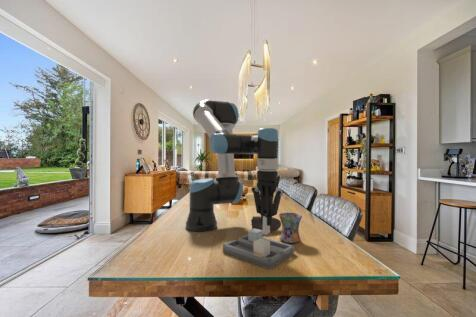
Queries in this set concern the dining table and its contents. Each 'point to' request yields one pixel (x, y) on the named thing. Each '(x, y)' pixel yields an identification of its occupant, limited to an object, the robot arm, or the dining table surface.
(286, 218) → the mug
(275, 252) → the gray divided tray
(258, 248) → the off-white cube
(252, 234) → the pale grey cube
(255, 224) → the perforated stone tool
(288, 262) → the dining table surface
